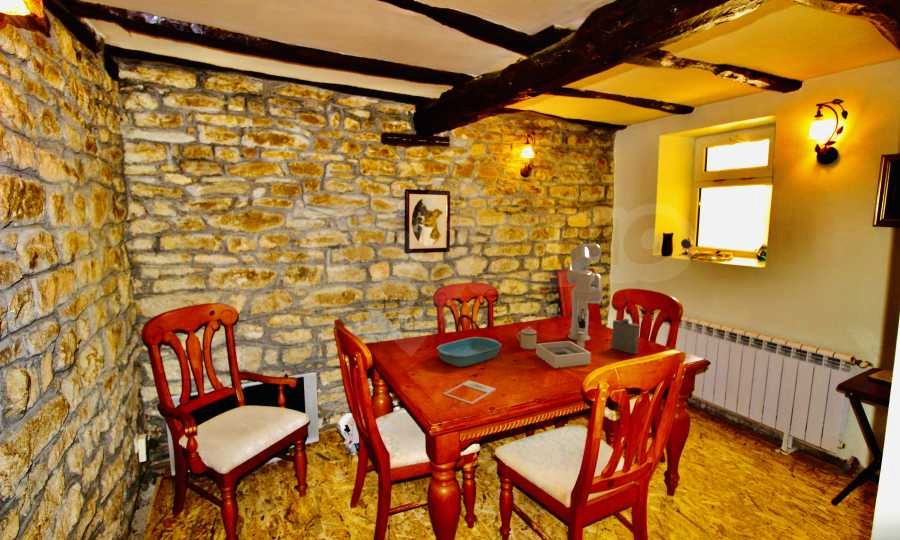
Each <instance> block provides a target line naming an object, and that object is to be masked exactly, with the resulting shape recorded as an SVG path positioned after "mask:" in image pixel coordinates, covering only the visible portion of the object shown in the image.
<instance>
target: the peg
mask: <svg viewBox="0 0 900 540" xmlns="http://www.w3.org/2000/svg"><path fill="white" fill-rule="evenodd" d="M585 342H586V341H585V333H584V332H577V340H576V345H578V346H580V347H581V348H583V349H585Z"/></svg>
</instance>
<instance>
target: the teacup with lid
mask: <svg viewBox="0 0 900 540" xmlns="http://www.w3.org/2000/svg"><path fill="white" fill-rule="evenodd" d="M537 336H538V332H537V330H535V329H533V328H531V326H527V327H526V328H524V329H521V331H520V332H518V333H517V334H516V337H517V339H518V341H519V342H520V347H521V348H522V349H525V350H536V344H537Z"/></svg>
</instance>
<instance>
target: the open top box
mask: <svg viewBox="0 0 900 540" xmlns="http://www.w3.org/2000/svg"><path fill="white" fill-rule="evenodd" d="M535 355H536V356H537V355H538V356H537V357H538V358H540V359H541V358H542V360H543V361H544V360H545V361H544V362H546V363H547V364H548V363H549V364H548V365H549V366H551V367H552V368H554V369H558V368H559V367H560V368H570V367H577V366H578V365H579V366H585V365H586V366H587V365H591V357H592V356H591V355H592V352H590V351H588V350H586V349H585V348H584V349H583V348H581V347H580V346H578V345H577V343H574V342H573V341H570V340H565V341H555V342H554V341H553V342H552V341H551V342H543V343H541V342H540V343H536V348H535Z"/></svg>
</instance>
